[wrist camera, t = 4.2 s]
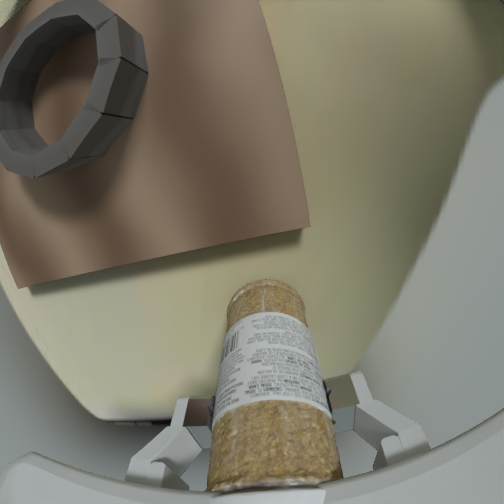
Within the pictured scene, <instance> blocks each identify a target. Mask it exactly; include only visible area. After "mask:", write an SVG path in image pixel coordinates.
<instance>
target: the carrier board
mask: <svg viewBox="0 0 504 504" xmlns="http://www.w3.org/2000/svg"><path fill="white" fill-rule="evenodd" d="M306 227H310V221H309V214H308V208H307V202H306V196H305V190H304V185H303V179H302V174H301V168H300V163H299V158H298V153H297V148H296V143H295V138H294V133H293V129H292V124H291V120H290V115H289V111H288V106H287V102H286V98H285V94H284V89H283V85H282V81H281V77H280V73H279V69H278V66H277V62H276V58H275V54H274V51H273V47H272V44H271V40H270V36H269V33H268V30H267V26H266V23H265V20H264V16H263V13H262V10H261V7H260V4H259V0H32V1H31V2H29V3H28V4H27V5H26V6H24V7H23V8H22V9H21V10H20V11H18V12H17V13H16V14H15V15H14V16H13V17H12V18H11V19H9V20H8V21H7V22H6V23H5V24H4V25H3V26H2V27H1V28H0V244H1V247H2V250H3V253H4V255H5V258H6V261H7V263H8V266H9V269H10V271H11V274H12V276H13V278H14V281H15V283H16V285H17V288H18V289H20V288H24V287H28V286H32V285H37V284H41V283H45V282H49V281H54V280H58V279H62V278H67V277H71V276H76V275H80V274H84V273H89V272H93V271H98V270H102V269H107V268H111V267H116V266H121V265H125V264H130V263H134V262H139V261H144V260H148V259H153V258H158V257H162V256H167V255H172V254H176V253H181V252H186V251H191V250H196V249H200V248H205V247H210V246H215V245H220V244H225V243H230V242H235V241H240V240H245V239H250V238H255V237H260V236H265V235H270V234H275V233H280V232H285V231H290V230H295V229H300V228H306Z"/></svg>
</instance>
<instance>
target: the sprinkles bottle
mask: <svg viewBox="0 0 504 504" xmlns="http://www.w3.org/2000/svg"><path fill="white" fill-rule="evenodd" d="M227 317H228V327H227V334H226V336H225V339H224V343H223V350H222V357H221V363H220V370H219V377H218V384H217V392H216V400H215V407H214V414H213V422H212V443H211V449H210V465H209V471H208V478H207V489H206V490H205V491H204V492H220V493H221V494H220V495H218V496H215V497H212V498H211V499H210V503H211V504H323V503H324V499H325V494H326V490H325V489H324V488H319V487H318V484H321V483H326V482H331V481H335V480H340V479H344V478H343V473H342V469H341V464H340V459H339V453H338V448H337V446H336V440H335V436H334V428H333V424H332V414H331V410H330V405H329V401H328V397H327V393H326V389H325V385H324V380H323V375H322V372H321V368H320V364H319V361H318V357H317V353H316V349H315V346H314V342H313V339H312V335H311V333H310V331H309V330H308V325H307V322H306V318H305V307H304V304H303V301H302V299H301V298H300V296H299V294H298V293H297V292H296V291H295V289H293V288H292V287H290V286H288V285H286V284H285V283H282V282H279V281H275V280H267V279H265V280H259V281H256V282H253V283H249V284H247V285H246V286H244V287H242V288H241V289H239V290H238V291H237V292H236V294H235V295H234V296H233V297H232V300H231V302H230V303H229V306H228V313H227Z"/></svg>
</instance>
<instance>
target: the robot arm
mask: <svg viewBox="0 0 504 504" xmlns="http://www.w3.org/2000/svg"><path fill="white" fill-rule="evenodd" d="M503 1H504V0H503ZM324 385H325V389H326V393H327V397H328V401H329V405H330V410H331V414H332V424H333V428H334V434H335V433H339V432H345V431H349V430H354V431H355V432H356V433H357V434H358V435H359V436H361V437H362V438H363V439H364V440H365V441H366V442H368V443H369V444H370V445H371V446H373V447H374V448H375V449H376V450H377V451H378V452H377V455H376V458H375V461H374V464H373V470H374V471H370V472H367V473H363V474H360V475H356V476H352V477H348V478H344V479H340V480H335V481H331V482H326V483H321V484H318V487H319V488H324V489H325V490H326V494H325V499H324V503H323V504H504V408H503V409H501V410H500V411H499V412H497V413H496V414H494V415H493V416H491V417H489V418H488V419H486V420H485V421H483V422H481V423H480V424H478V425H476V426H475V427H473V428H471V429H470V430H468V431H466V432H464V433H463V434H460V435H459V436H457V437H455V438H453V439H451V440H449V441H447V442H445V443H443V444H441V445H439V446H437V447H434V448H432V449H431V448H430V446H429V444H428V441H427V439H426V437H425V434H424V432H423V430H422V428H421V426H420V424H418V423H417V422H415V421H413V420H411V419H410V418H408V417H406V416H405V415H403V414H401V413H399V412H398V411H396V410H394V409H392V408H391V407H389V406H387V405H386V404H384V403H382V402H381V401H379V400H378V399H375V400H373V398H372V395H371V393H370V390H369V388H368V385H367V383H366V380H365V378H364V375H363V373H362V372H361V371H357V372H353V373H349V374H345V375H341V376H337V377H333V378H328V379H324ZM215 400H216V398H215V396H193V397H179V398H178V399H177V402H176V406H175V410H174V413H173V417H172V421H171V425H170V427H166V428H165V429H164V430H163V431H162V432H160V433H159V434H158V435H157V436H156V437H155V438H154V439H153V440H152V441H151V442H149V443H148V444H147V445H146V446H145V447H144V448H142V449H141V450H140V451H139V452H138V453H137V454H136V455H135V456H133V457H132V459H131V462H130V465H129V468H128V472H127V475H126V478H125V481H121V480H117V479H113V478H109V477H105V476H101V475H98V474H94V473H91V472H87V471H84V470H81V469H78V468H75V467H72V466H69V465H66V464H63V463H61V462H58V461H56V460H53V459H50V458H48V457H45V456H43V455H41V454H39V453H36V452H29V453H27V454H25V455H23V456H21V457H19V458H18V459H16V460H14V461H13V462H12V463H10V465H9V466H8V467H7V468H6V470H5V471H4V473H3V474H2V476H1V478H0V504H211V503H210V499H211V498H212V497H215V496H218V495H220V494H221V493H220V492H203V491H189V486H188V485H187V484H186V483H185V482H184V481H183V480H182V479H180V476H181V475H182V474H183V473H184V472H185V471H186V469H187V468H188V467H189V466H190V464H191V463H192V462H193V461H194V459H195V458H196V457H197V455H198V454H199V453H200V452H201V450H202V449H208V448H211V443H212V422H213V414H214V407H215Z"/></svg>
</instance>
